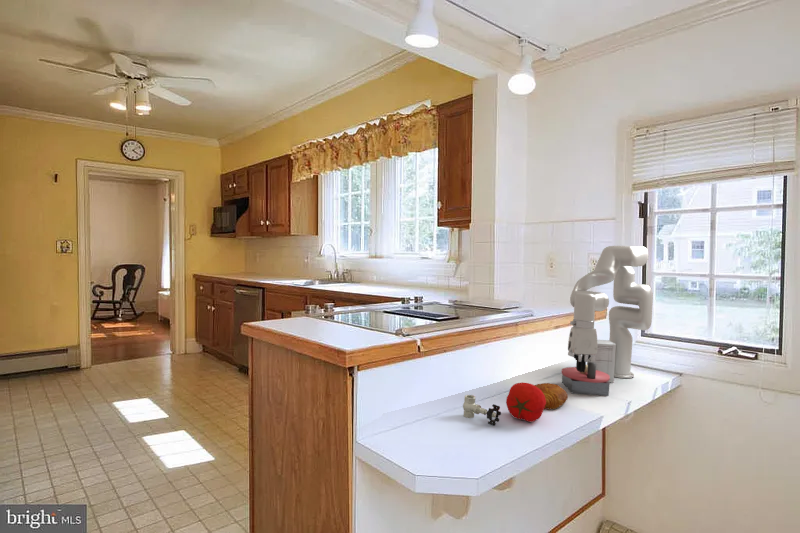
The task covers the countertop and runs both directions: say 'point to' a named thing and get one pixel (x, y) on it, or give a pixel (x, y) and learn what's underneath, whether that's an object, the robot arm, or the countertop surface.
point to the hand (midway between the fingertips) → (580, 371)
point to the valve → (480, 410)
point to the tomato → (525, 401)
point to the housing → (585, 387)
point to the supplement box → (605, 358)
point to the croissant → (553, 395)
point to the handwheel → (586, 374)
